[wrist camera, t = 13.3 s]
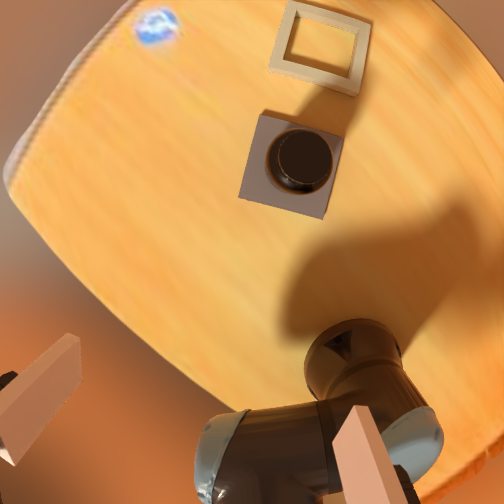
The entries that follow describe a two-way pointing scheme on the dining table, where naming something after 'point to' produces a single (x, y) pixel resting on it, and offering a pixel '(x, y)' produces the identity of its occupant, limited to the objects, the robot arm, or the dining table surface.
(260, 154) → the slate coaster
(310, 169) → the supplement bottle
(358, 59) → the frame
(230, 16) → the dining table surface
